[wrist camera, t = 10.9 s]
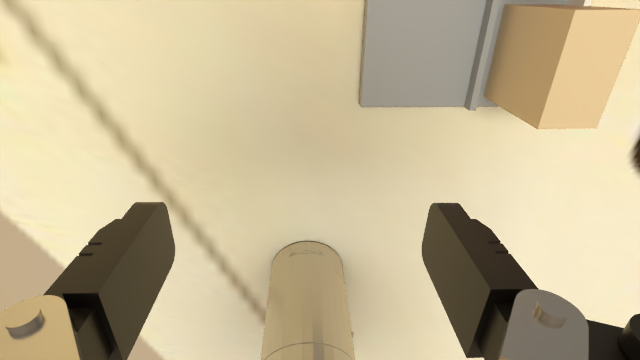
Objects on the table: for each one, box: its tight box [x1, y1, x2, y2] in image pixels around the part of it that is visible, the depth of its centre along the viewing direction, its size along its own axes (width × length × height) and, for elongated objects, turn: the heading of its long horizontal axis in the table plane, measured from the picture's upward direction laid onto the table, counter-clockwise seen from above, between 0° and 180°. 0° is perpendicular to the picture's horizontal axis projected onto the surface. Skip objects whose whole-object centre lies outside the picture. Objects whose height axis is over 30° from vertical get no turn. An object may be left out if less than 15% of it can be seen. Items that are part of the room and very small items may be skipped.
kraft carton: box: [483, 4, 640, 129], centre depth 28 cm, size 5×8×9 cm, turn 0°
